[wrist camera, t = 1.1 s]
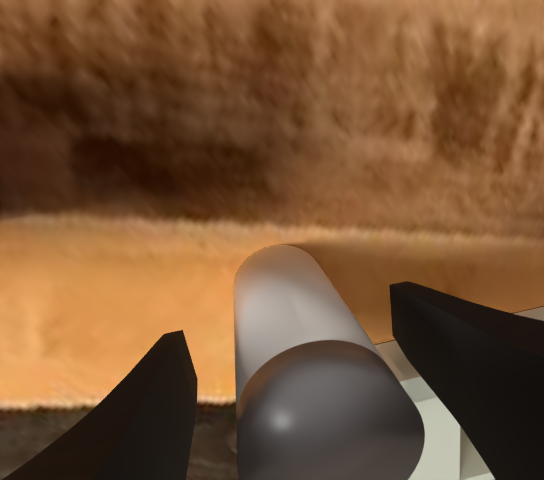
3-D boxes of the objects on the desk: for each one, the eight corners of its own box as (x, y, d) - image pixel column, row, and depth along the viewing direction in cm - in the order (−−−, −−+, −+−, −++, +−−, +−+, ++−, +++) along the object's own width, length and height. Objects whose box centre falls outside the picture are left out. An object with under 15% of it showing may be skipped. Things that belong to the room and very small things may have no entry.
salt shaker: (318, 236, 14) (423, 356, 6) (328, 317, 15) (427, 498, 8) (224, 255, 14) (218, 403, 6) (243, 336, 15) (257, 542, 7)
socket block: (547, 305, 17) (605, 337, 14) (531, 452, 20) (576, 499, 17) (251, 373, 16) (255, 419, 13) (284, 515, 19) (293, 575, 16)
